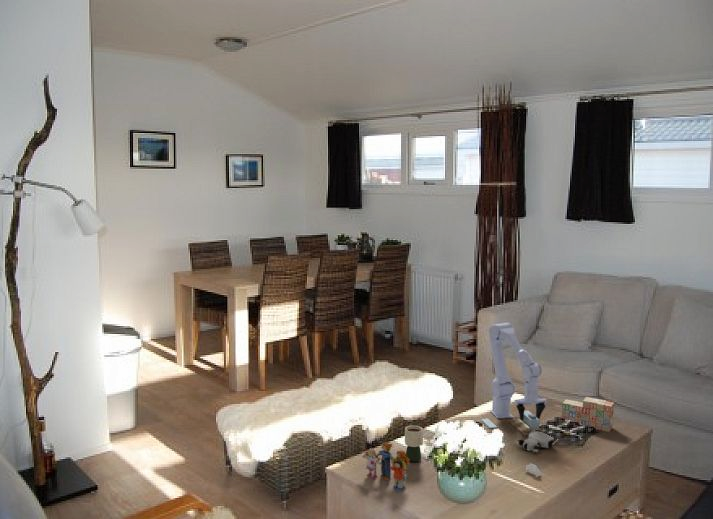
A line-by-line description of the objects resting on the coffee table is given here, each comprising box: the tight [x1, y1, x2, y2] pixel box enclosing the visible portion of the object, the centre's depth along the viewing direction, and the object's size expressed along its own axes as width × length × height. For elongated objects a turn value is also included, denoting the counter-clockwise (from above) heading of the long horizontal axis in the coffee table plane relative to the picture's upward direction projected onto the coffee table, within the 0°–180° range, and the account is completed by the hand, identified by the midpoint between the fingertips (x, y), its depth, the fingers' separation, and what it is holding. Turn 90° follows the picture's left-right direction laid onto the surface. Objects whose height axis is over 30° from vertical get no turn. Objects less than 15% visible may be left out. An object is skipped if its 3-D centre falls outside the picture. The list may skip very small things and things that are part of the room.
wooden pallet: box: [509, 416, 543, 437], centre depth 285 cm, size 16×12×3 cm
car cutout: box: [524, 462, 542, 478], centre depth 244 cm, size 15×7×4 cm, turn 42°
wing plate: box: [480, 418, 498, 430], centre depth 290 cm, size 10×4×1 cm, turn 13°
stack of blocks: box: [561, 396, 615, 433], centre depth 290 cm, size 21×6×12 cm, turn 57°
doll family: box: [361, 441, 411, 492], centre depth 235 cm, size 21×10×13 cm, turn 46°
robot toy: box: [514, 430, 559, 453], centre depth 266 cm, size 12×4×15 cm
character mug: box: [404, 425, 424, 462], centre depth 252 cm, size 11×7×13 cm, turn 34°
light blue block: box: [523, 410, 541, 431], centre depth 285 cm, size 12×4×6 cm, turn 9°
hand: (529, 419), depth 285 cm, fingers open, 7 cm apart
